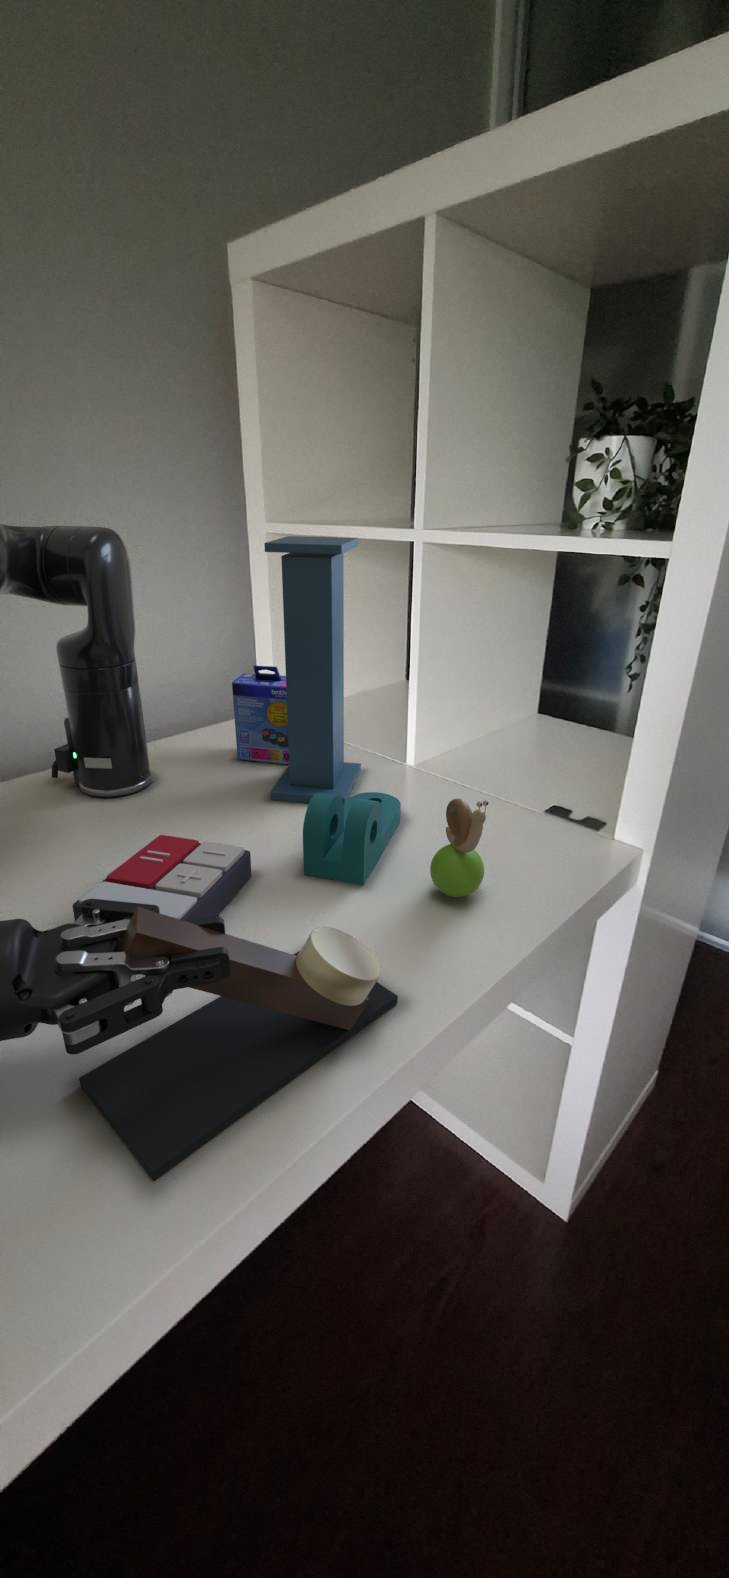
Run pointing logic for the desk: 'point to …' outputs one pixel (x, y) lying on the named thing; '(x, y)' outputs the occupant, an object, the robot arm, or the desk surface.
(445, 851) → the snail figurine
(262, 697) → the ink cartridge box
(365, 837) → the bracket
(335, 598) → the stand
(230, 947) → the tape bar
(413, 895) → the desk surface
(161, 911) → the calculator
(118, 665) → the robot arm
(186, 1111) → the rubber mat
